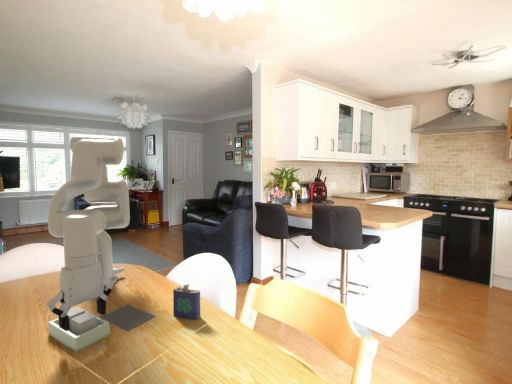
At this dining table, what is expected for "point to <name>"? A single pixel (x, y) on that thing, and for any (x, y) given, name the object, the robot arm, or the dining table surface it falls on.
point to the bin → (81, 340)
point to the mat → (128, 317)
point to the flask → (186, 303)
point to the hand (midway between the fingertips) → (84, 320)
